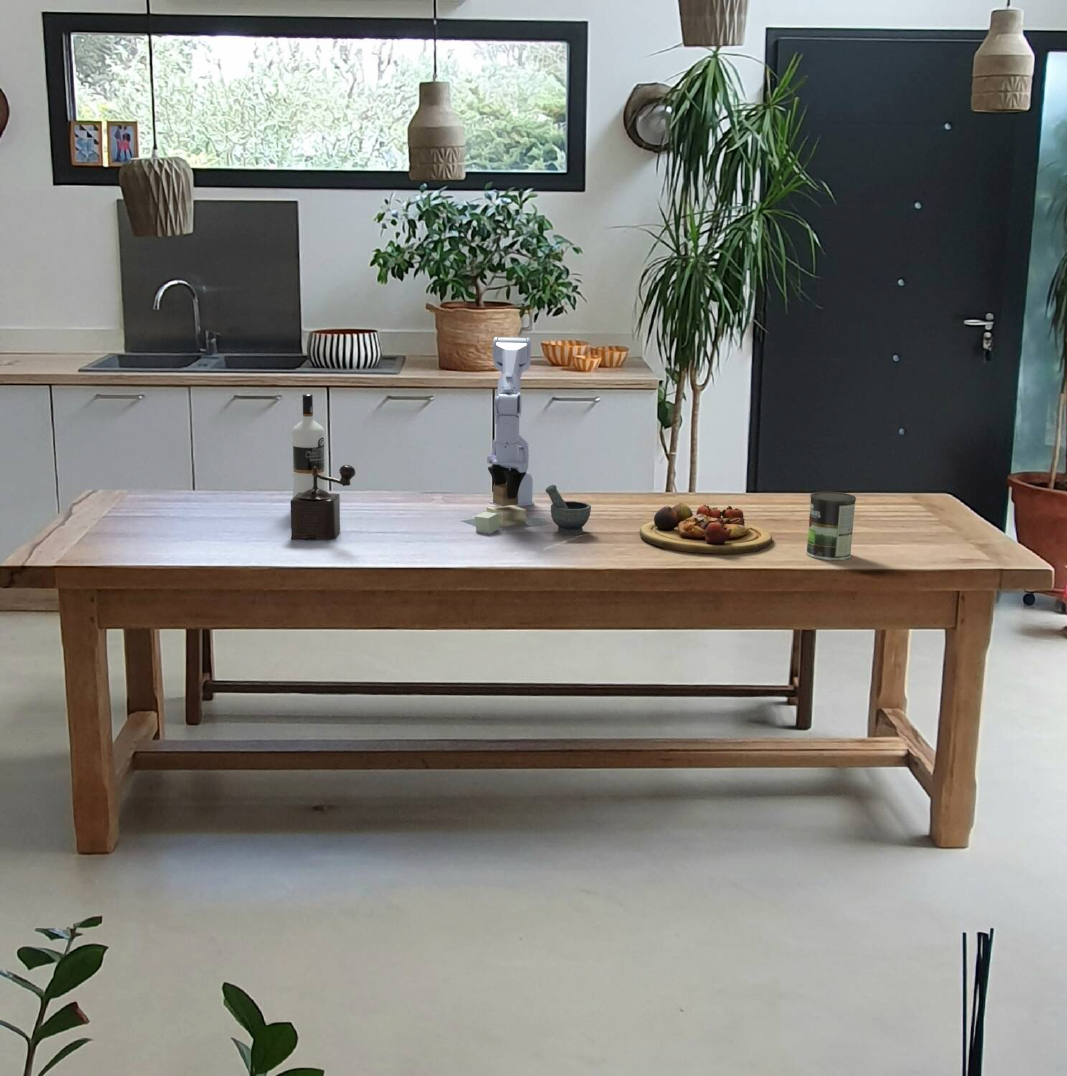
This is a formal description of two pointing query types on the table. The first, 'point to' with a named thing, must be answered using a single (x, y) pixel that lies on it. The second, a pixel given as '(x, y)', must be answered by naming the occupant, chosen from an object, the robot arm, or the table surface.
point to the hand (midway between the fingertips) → (506, 496)
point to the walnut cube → (502, 496)
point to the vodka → (307, 450)
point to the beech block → (509, 514)
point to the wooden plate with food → (704, 531)
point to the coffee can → (830, 525)
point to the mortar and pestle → (568, 513)
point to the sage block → (487, 522)
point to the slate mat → (529, 523)
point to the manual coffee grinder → (318, 509)
